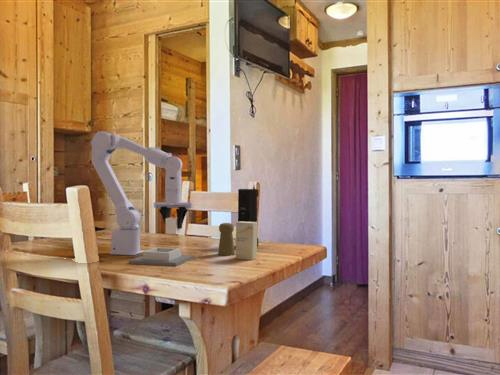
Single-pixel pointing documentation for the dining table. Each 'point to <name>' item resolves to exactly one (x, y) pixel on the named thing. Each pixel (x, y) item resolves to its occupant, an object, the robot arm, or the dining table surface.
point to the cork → (226, 240)
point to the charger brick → (172, 226)
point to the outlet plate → (162, 257)
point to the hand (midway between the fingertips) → (173, 228)
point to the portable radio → (247, 205)
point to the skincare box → (246, 240)
